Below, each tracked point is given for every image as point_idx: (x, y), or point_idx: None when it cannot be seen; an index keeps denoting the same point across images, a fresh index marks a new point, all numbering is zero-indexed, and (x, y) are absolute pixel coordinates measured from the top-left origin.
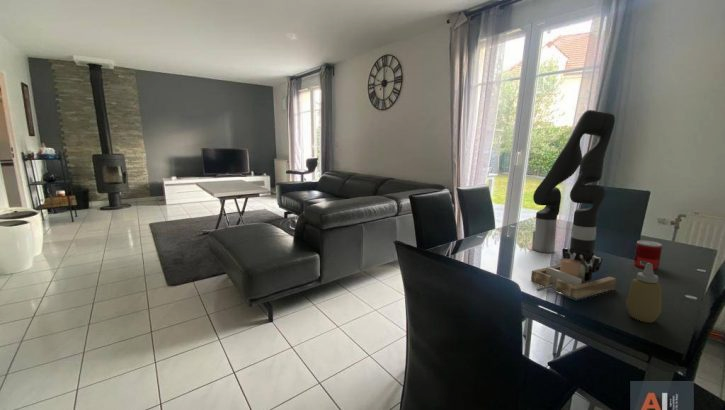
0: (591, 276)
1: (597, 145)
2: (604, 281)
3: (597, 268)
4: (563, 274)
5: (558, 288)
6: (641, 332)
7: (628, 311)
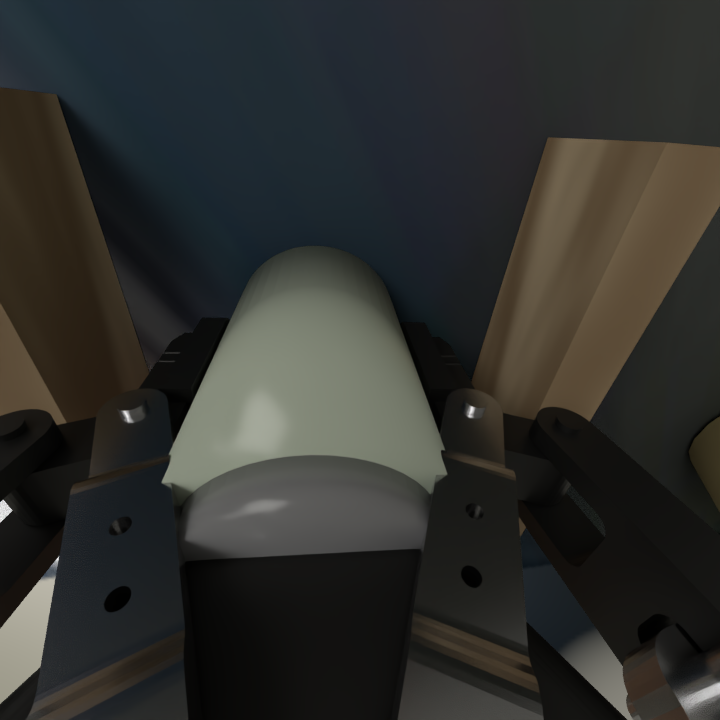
0: (459, 369)
1: None
2: (606, 384)
3: (603, 472)
4: None
5: None
6: (711, 514)
7: (698, 471)
